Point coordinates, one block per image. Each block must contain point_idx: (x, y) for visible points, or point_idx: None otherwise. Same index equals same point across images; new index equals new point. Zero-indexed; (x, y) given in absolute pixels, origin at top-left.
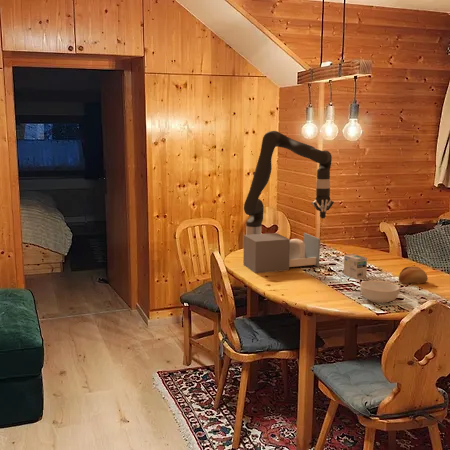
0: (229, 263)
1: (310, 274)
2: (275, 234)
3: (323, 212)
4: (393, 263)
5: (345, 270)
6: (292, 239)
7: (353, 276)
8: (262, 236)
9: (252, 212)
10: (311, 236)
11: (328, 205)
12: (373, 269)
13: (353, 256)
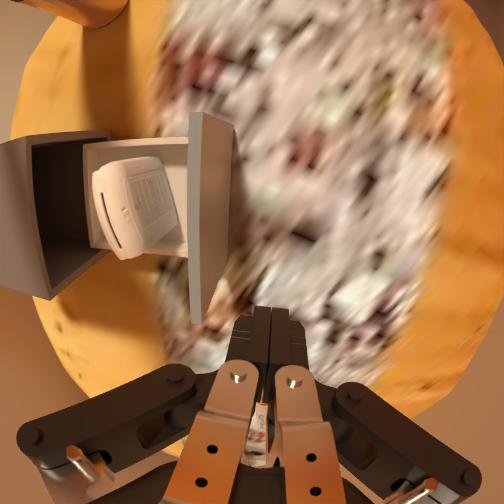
0: (13, 122)
1: (162, 310)
2: (15, 177)
3: (259, 395)
4: (467, 300)
5: None
6: (93, 194)
7: None
8: None
9: None
10: (187, 238)
11: (371, 467)
12: (377, 335)
13: (265, 415)
